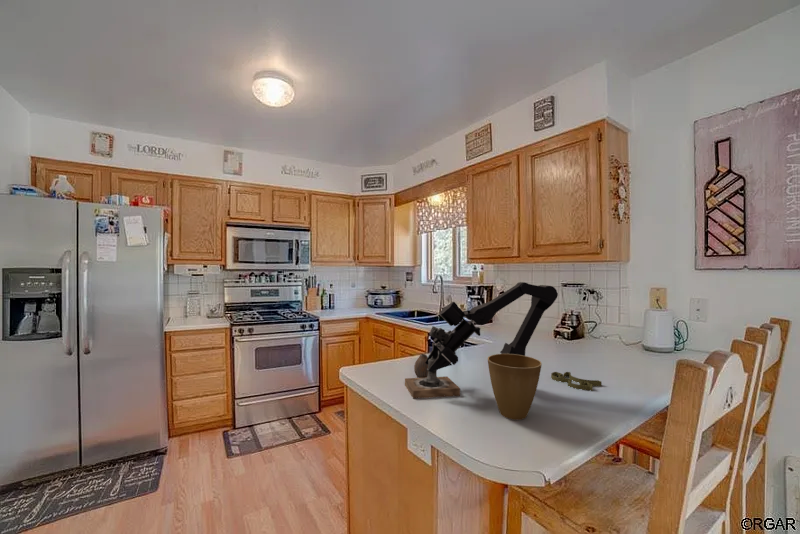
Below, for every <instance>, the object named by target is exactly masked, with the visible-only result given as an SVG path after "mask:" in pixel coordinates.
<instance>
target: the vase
mask: <svg viewBox="0 0 800 534" xmlns="http://www.w3.org/2000/svg"><path fill="white" fill-rule="evenodd" d="M427 358H428V355H427V354H425V353H421V354H420V355H419V356H418V358H417V359H416V360H415V363H414V365H413V369H414V371H413V372H414V374H415V376H416V378H418V377H419V378H425V377H427V376H428V370H427V368H428V364H426V363H425V361H426V360H427Z"/></svg>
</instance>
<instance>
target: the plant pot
mask: <svg viewBox="0 0 800 534" xmlns="http://www.w3.org/2000/svg"><path fill="white" fill-rule="evenodd" d="M487 363H488V373H489V377H490V384H491V388H492V391H493V392H492V393H493V396H494V399H495V401H496V405H497V408H498V411H499V413H500V415H501V416H502V417H504V418H506V419H509V420H512V421H513V420H514V421H515V420H516V421H519V420H520V421H521V420H525V419H526V418H527V416H528V414H529V412H530V409H531V407H532V405H533V402H534V399H535V396H536V392H537V389H538V385H539V380H540V375H541V371H542V364H543V363H542V362H541V361H540V360H539V359H537V358H534V357H532V356H528V355H525V356H523V355H517V354H501V353H496V354H492V355H491V354H490V355H489V356H488V357H487Z"/></svg>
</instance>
